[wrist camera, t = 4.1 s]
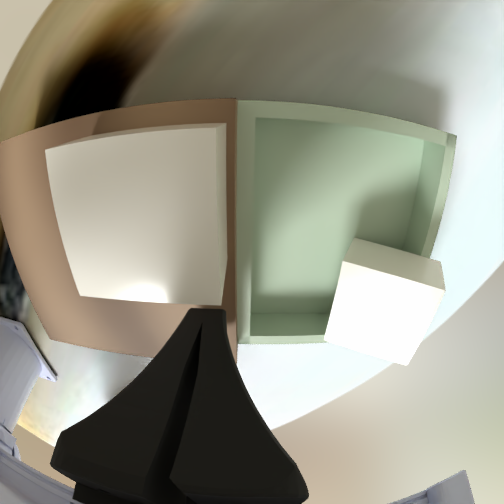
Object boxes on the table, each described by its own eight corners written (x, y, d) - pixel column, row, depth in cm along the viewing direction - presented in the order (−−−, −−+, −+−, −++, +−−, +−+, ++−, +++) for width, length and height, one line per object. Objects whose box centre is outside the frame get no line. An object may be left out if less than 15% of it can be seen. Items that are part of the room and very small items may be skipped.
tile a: (406, 365, 11) (411, 332, 13) (445, 290, 9) (440, 261, 11) (323, 339, 13) (337, 310, 15) (342, 260, 11) (354, 237, 12)
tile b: (110, 255, 9) (80, 295, 7) (91, 135, 7) (45, 149, 5) (227, 258, 10) (221, 305, 7) (226, 122, 7) (216, 127, 5)
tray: (238, 315, 15) (237, 343, 13) (240, 102, 10) (237, 100, 8) (384, 311, 16) (397, 336, 14) (429, 128, 10) (456, 135, 8)
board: (74, 302, 15) (50, 339, 12) (33, 132, 10) (-12, 147, 7) (238, 315, 15) (236, 363, 12) (240, 102, 10) (235, 98, 7)
